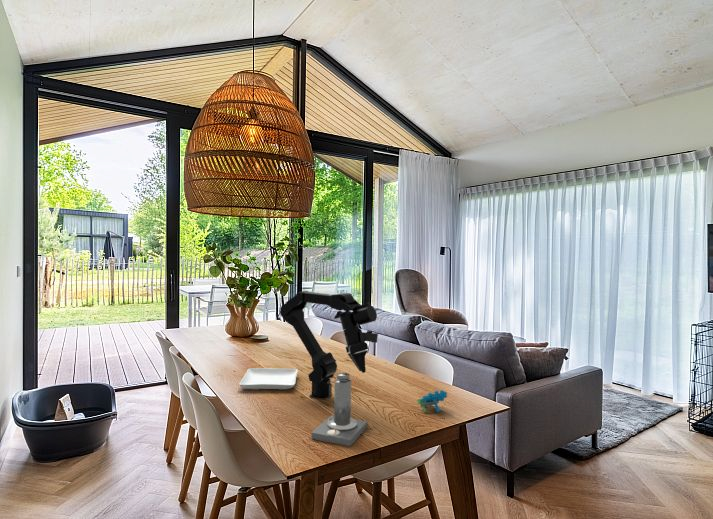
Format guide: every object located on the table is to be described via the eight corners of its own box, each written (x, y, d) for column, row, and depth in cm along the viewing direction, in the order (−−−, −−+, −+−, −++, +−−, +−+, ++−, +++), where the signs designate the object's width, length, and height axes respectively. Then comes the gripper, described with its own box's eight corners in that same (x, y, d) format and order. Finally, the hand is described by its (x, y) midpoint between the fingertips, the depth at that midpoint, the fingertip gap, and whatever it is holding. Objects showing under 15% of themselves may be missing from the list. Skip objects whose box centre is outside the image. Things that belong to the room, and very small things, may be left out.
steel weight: (330, 421, 131) (331, 374, 130) (343, 417, 134) (344, 371, 134) (341, 427, 127) (342, 378, 127) (353, 422, 130) (354, 375, 130)
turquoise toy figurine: (442, 399, 156) (449, 386, 148) (448, 415, 152) (455, 402, 145) (413, 405, 153) (419, 392, 146) (419, 421, 149) (425, 409, 142)
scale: (311, 438, 125) (311, 430, 125) (331, 420, 138) (331, 413, 138) (350, 446, 120) (350, 438, 120) (366, 427, 134) (367, 420, 134)
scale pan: (322, 427, 128) (322, 425, 128) (334, 416, 136) (334, 414, 136) (350, 432, 125) (350, 430, 125) (361, 421, 133) (361, 419, 133)
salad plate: (294, 392, 164) (295, 383, 164) (238, 392, 163) (238, 383, 163) (298, 376, 186) (298, 368, 185) (248, 376, 184) (248, 368, 184)
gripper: (376, 320, 145) (389, 366, 143) (369, 323, 164) (380, 364, 161) (344, 329, 144) (356, 376, 141) (340, 331, 162) (351, 372, 159)
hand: (362, 371), depth 151 cm, fingers open, 9 cm apart
